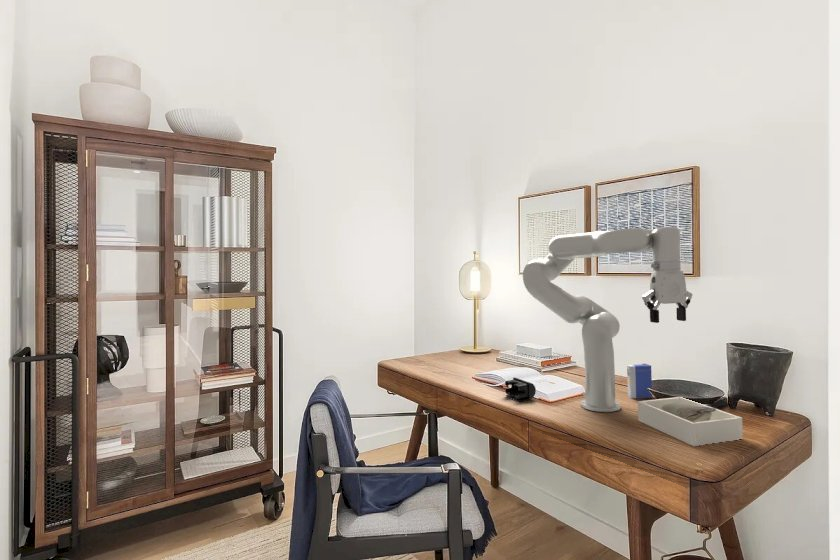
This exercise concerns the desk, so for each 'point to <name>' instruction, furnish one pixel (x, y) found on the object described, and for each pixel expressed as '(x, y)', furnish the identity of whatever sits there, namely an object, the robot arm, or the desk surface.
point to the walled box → (690, 423)
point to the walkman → (639, 381)
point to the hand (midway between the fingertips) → (668, 321)
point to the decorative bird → (689, 411)
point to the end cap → (520, 390)
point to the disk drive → (717, 402)
